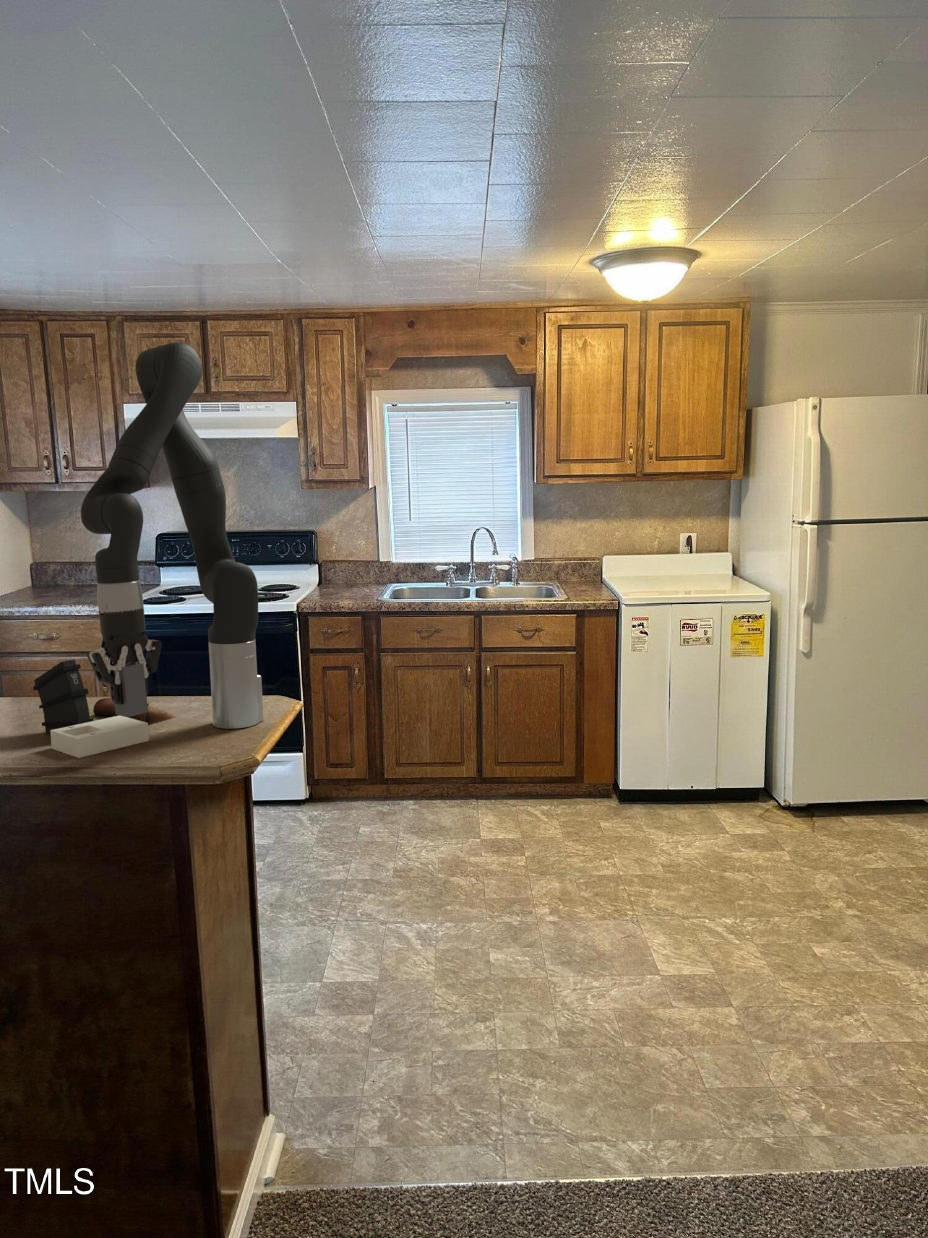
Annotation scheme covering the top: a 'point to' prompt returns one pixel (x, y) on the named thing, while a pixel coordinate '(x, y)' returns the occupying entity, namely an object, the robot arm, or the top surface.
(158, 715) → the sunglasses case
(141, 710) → the grey rectangular block
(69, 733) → the switch board
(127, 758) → the top surface
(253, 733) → the top surface
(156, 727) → the top surface
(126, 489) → the robot arm
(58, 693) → the magazine
